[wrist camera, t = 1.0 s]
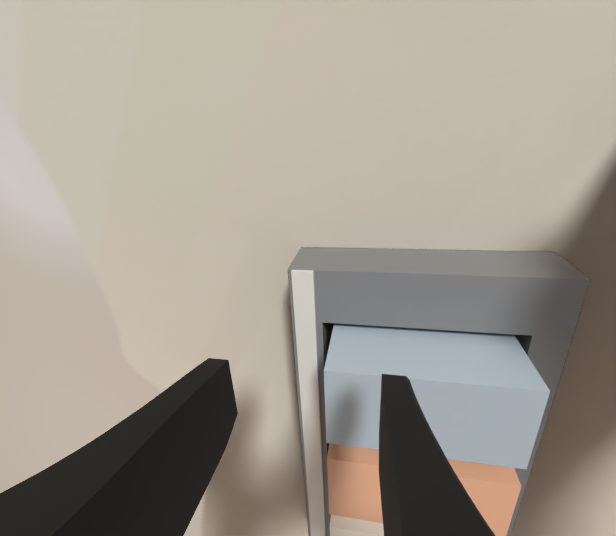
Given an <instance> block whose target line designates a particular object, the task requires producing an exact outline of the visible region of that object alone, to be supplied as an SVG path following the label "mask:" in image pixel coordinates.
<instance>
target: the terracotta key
mask: <svg viewBox="0 0 616 536" xmlns="http://www.w3.org/2000/svg"><path fill="white" fill-rule="evenodd" d="M447 460H448V461H449V463H450V465H451V467H452V468H453V470H454V472H455V473H456V475H457V477H458V478H459V480H460V482H461V483H462V485H463V487H464V488H465V490H466V492H467V493H468V495H469V496H470V498H471V500H472V501H473V503H474V504H475V506H476V507H477V509H478V510H479V512H480V514H481V515H482V517H483V518H484V520H485V521H486V523H487V524H488V526H489V527H490V529H491V530H492V531H493V533H494V534H495V536H506V535H507V532H508V529H509V525H510V522H511V519H512V516H513V512H514V509H515V506H516V502H517V499H518V496H519V492H520V489H521V484H520V481H519V479H518V476H517V474H516V471H515V469H514V468H512V467H504V466H497V465H489V464H482V463H474V462H467V461H459V460H452V459H447ZM327 471H328V497H329V514H331V515H337V516H343V517H349V518H354V519H360V520H366V521H372V522H377V523H383V517H382V505H381V492H380V480H379V450H376V449H369V448H361V447H354V446H346V445H339V444H331V443H329V449H328V456H327Z"/></svg>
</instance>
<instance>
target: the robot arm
mask: <svg viewBox="0 0 616 536" xmlns="http://www.w3.org/2000/svg"><path fill="white" fill-rule="evenodd" d="M237 414H238V413H237V407H236V401H235V396H234V390H233V384H232V379H231V373H230V367H229V361H228V360H222V359H211V358H209V359H207V360H206V361H204V362H203V363H201V364H200V365H199V366H197V367H196V368H194V369H193V370H192V371H190V372H189V373H188V374H186V375H185V376H184V377H182V378H181V379H180V380H178V381H177V382H176V383H174V384H173V385H172V386H170V387H169V388H168V389H166V390H165V391H164V392H162V393H161V394H160V395H158V396H157V397H155V398H154V399H153V400H152V401H150V402H149V403H147V404H146V405H145V406H143V407H142V408H140V409H139V410H137V411H136V412H135V413H133V414H132V415H130V416H129V417H127V418H126V419H124V420H123V421H121V422H120V423H119V424H117V425H115V426H114V427H113V428H111V429H110V430H108V431H107V432H105V433H104V434H102V435H101V436H99V437H98V438H96V439H95V440H93V441H91V442H90V443H88V444H87V445H85V446H84V447H82V448H80V449H79V450H77V451H75V452H74V453H72V454H70V455H69V456H67V457H65V458H64V459H62V460H60V461H59V462H57V463H55V464H53V465H52V466H50V467H48V468H47V469H45V470H43V471H41V472H40V473H38V474H36V475H34V476H32V477H30V478H28V479H27V480H25V481H23V482H21V483H19V484H17V485H15V486H13V487H12V488H10V489H8V490H6V491H4V492H2V493H0V536H183V535H184V533H185V531H186V529H187V527H188V525H189V523H190V521H191V518H192V517H193V515H194V512H195V510H196V508H197V506H198V504H199V502H200V500H201V498H202V496H203V494H204V492H205V490H206V488H207V486H208V484H209V482H210V480H211V478H212V476H213V474H214V472H215V469H216V467H217V465H218V463H219V461H220V459H221V457H222V455H223V453H224V450H225V448H226V445H227V443H228V440H229V437H230V434H231V432H232V429H233V426H234V423H235V420H236V417H237ZM379 480H380V492H381V505H382V517H383V529H384V536H495V534H494V533H493V531H492V530H491V529H490V527H489V526H488V524H487V523H486V521H485V520H484V518H483V517H482V515H481V514H480V512H479V510H478V509H477V507H476V506H475V504H474V503H473V501H472V500H471V498H470V496H469V495H468V493H467V492H466V490H465V488H464V487H463V485H462V483H461V482H460V480H459V478H458V477H457V475H456V473H455V472H454V470H453V468H452V467H451V465H450V463H449V461H448V460H447V458H446V456H445V454H444V452H443V451H442V449H441V447H440V445H439V443H438V441H437V439H436V438H435V436H434V434H433V432H432V430H431V428H430V426H429V424H428V422H427V420H426V418H425V416H424V414H423V412H422V409H421V407H420V405H419V403H418V401H417V398H416V396H415V393H414V391H413V388H412V385H411V382H410V380H409V379H408V378H407V377H406V376H401V375H390V374H382V380H381V401H380V422H379Z"/></svg>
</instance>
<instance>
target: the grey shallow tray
mask: <svg viewBox="0 0 616 536" xmlns="http://www.w3.org/2000/svg"><path fill="white" fill-rule="evenodd" d="M288 279H289V291H290V304H291V317H292V329H293V342H294V355H295V368H296V380H297V393H298V406H299V418H300V431H301V444H302V457H303V469H304V482H305V495H306V507H307V520H308V533H309V536H330V519H331V514H329V497H328V471H327V456H328V449H329V443H326V418H325V391H324V367H325V363H326V358H327V354H328V349H329V344H330V340H331V335H332V333H331V323H338V324H354V325H370V326H386V327H402V328H418V329H434V330H450V331H466V332H482V333H498V334H514V335H515V337H516V338H517V340H518V342H519V343H520V345H521V346H522V348H523V349H524V351H525V353H526V354H527V356H528V357H529V359H530V360H531V362H532V363H533V365H534V367H535V368H536V370H537V371H538V373H539V374H540V376H541V378H542V379H543V381H544V382H545V384H546V385H547V387H548V389H549V390H550V394H549V397H548V400H547V404H546V407H545V410H544V414H543V417H542V420H541V423H540V427H539V430H538V433H537V437H536V440H535V443H534V446H533V450H532V453H531V456H530V460H529V463H528V466H527V469H520V468H514V469H515V471H516V474H517V476H518V479H519V481H520V484H521V489H520V492H519V496H518V499H517V502H516V506H515V509H514V512H513V516H512V519H511V522H510V525H509V529H508V532H507V535H506V536H511V533H512V530H513V527H514V524H515V520H516V517H517V514H518V511H519V508H520V504H521V501H522V498H523V495H524V492H525V488H526V485H527V482H528V479H529V476H530V472H531V469H532V466H533V463H534V460H535V456H536V453H537V450H538V447H539V444H540V440H541V437H542V434H543V431H544V428H545V424H546V421H547V418H548V415H549V412H550V408H551V405H552V402H553V399H554V396H555V392H556V389H557V386H558V383H559V380H560V376H561V373H562V370H563V367H564V364H565V360H566V357H567V354H568V351H569V348H570V344H571V341H572V338H573V335H574V332H575V328H576V325H577V322H578V319H579V316H580V312H581V309H582V306H583V303H584V300H585V296H586V293H587V290H588V287H589V284H590V280H591V279H590V278H588V277H587V276H586V275H584V274H583V273H582V272H580V271H579V270H578V269H576V268H575V267H574V266H572V265H571V264H569V263H568V262H567V261H565V260H564V259H563V258H561V257H560V256H559V255H557V254H556V253H555V252H530V251H477V250H424V249H371V248H318V247H301V249H300V250H299V252H298V254H297V255H296V257H295V259H294V260H293V262H292V263H291V265H290V267H289V268H288Z"/></svg>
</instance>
